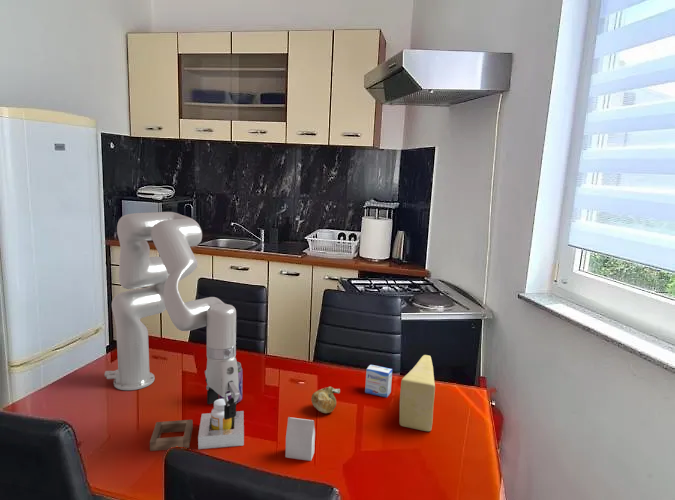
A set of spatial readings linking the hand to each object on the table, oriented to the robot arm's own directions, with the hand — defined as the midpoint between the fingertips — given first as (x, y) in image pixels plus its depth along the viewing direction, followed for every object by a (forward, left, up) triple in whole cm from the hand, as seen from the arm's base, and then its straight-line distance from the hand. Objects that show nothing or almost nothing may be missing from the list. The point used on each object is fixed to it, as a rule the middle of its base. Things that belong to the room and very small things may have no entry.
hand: (221, 409), depth 125 cm
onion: (+30, +9, -8) cm, 32 cm away
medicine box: (+50, +18, -8) cm, 54 cm away
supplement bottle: (0, 0, -8) cm, 8 cm away
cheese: (+60, +4, -8) cm, 60 cm away
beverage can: (+2, +19, -8) cm, 20 cm away
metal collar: (0, 0, -7) cm, 7 cm away
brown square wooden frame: (-13, 0, -7) cm, 15 cm away
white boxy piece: (+20, -12, -8) cm, 25 cm away
